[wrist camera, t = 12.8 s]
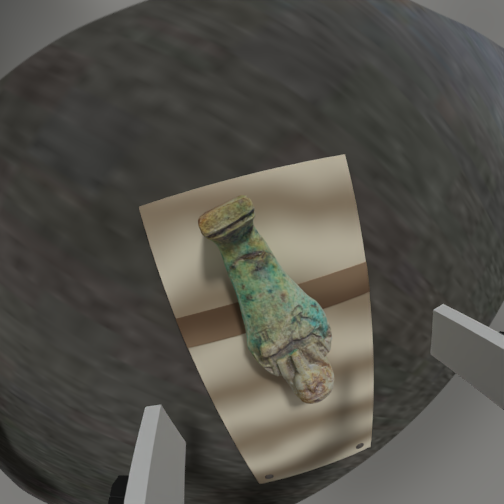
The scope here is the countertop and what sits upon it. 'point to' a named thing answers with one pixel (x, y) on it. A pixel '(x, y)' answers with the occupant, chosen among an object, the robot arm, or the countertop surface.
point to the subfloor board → (232, 325)
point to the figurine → (272, 303)
